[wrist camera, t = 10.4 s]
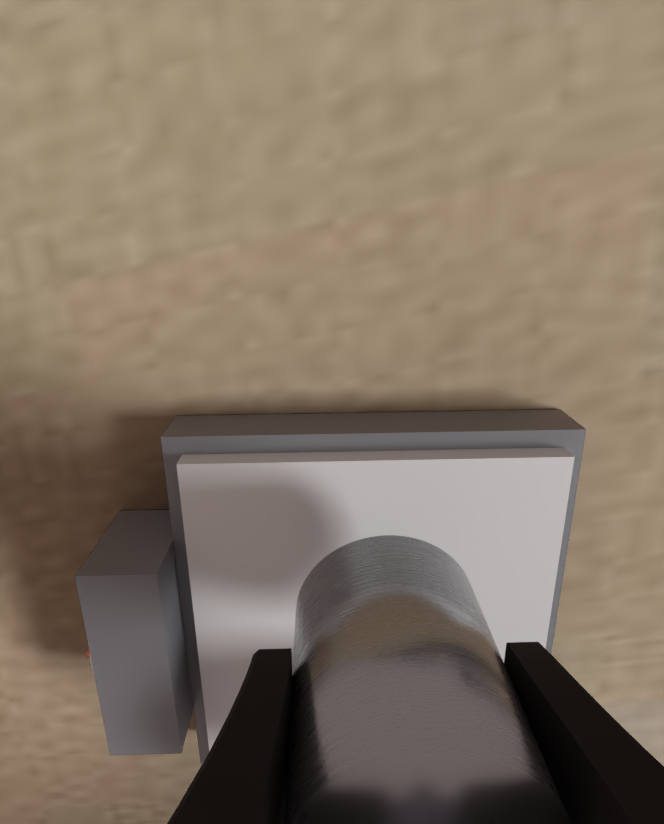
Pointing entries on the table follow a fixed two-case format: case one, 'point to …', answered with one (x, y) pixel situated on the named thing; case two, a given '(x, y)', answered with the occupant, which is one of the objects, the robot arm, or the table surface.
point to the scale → (311, 544)
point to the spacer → (405, 699)
